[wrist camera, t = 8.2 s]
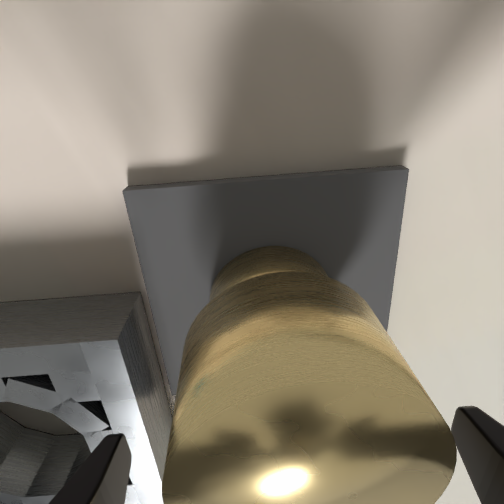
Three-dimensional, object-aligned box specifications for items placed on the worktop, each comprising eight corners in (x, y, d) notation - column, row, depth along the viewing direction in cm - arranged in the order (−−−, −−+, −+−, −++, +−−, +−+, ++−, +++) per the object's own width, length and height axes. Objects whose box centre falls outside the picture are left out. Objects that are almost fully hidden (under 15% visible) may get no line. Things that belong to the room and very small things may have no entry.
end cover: (203, 366, 15) (186, 575, 9) (180, 236, 12) (130, 403, 6) (343, 352, 15) (429, 545, 9) (352, 221, 12) (489, 365, 6)
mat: (174, 385, 17) (172, 395, 16) (127, 186, 12) (122, 190, 12) (375, 369, 17) (380, 379, 16) (401, 165, 12) (409, 169, 12)
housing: (-13, 471, 19) (-54, 534, 16) (-120, 312, 14) (-204, 364, 11) (181, 456, 19) (172, 517, 16) (140, 292, 14) (116, 339, 11)
